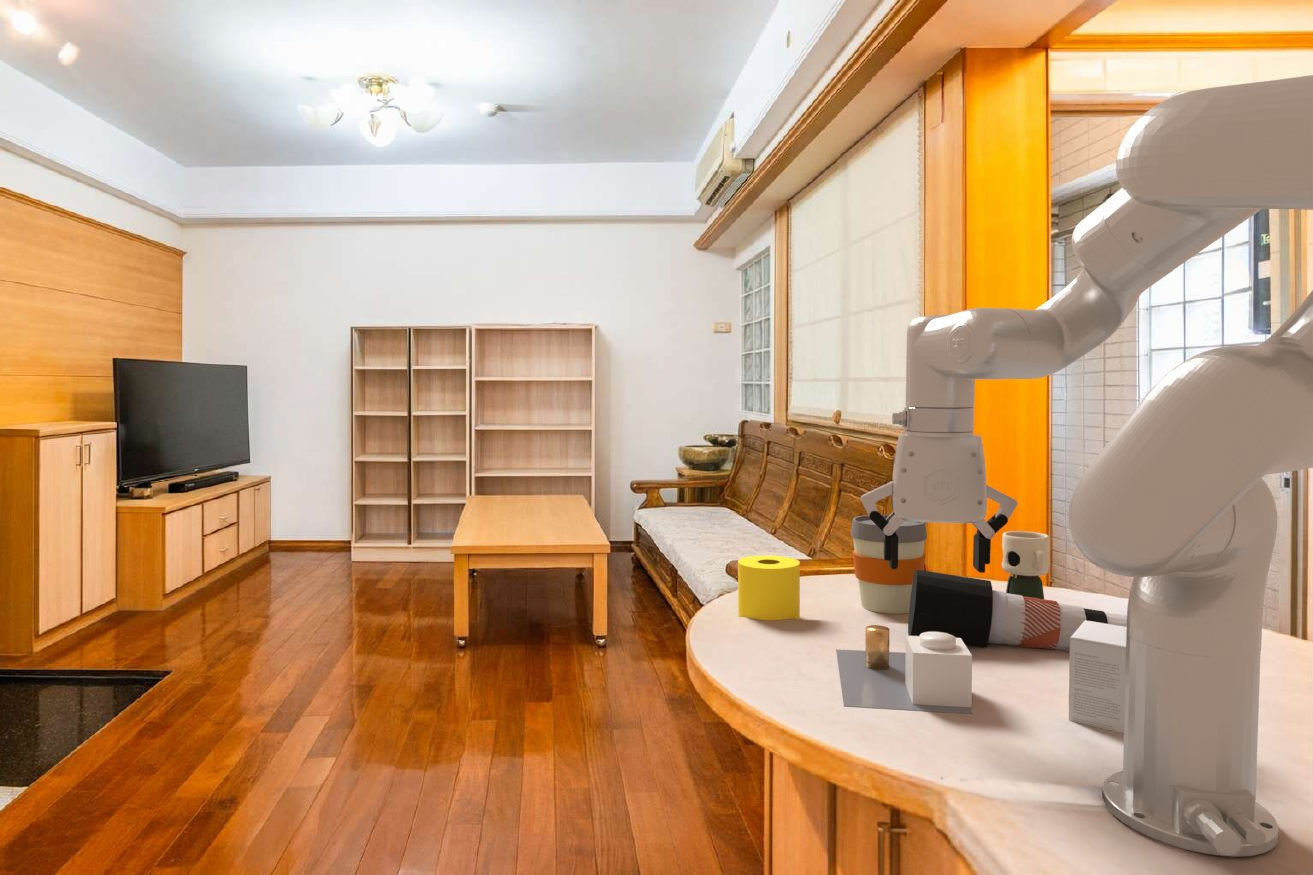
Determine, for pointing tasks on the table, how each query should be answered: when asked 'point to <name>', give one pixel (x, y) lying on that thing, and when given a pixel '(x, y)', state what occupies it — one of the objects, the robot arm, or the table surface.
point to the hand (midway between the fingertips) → (935, 568)
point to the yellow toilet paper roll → (769, 587)
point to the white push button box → (938, 670)
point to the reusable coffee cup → (886, 564)
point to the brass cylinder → (877, 647)
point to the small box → (1097, 675)
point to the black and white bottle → (994, 614)
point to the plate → (880, 684)
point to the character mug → (1025, 562)
